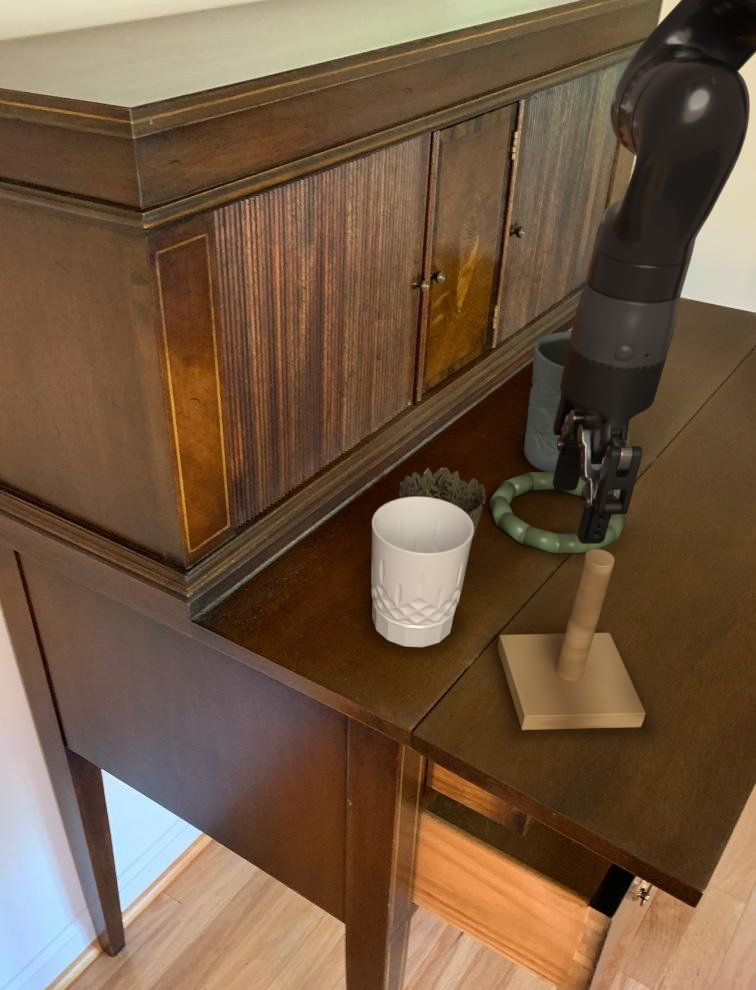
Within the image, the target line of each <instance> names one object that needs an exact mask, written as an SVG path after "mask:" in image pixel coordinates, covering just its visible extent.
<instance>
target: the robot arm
mask: <svg viewBox="0 0 756 990" xmlns="http://www.w3.org/2000/svg"><path fill="white" fill-rule="evenodd" d="M755 55H756V0H679V2H678V3H677V4H676V5H675V6H674V7H673V8H672V9H671V11H669V13H668V14H667V15H666V16H665V17H664V18H663V19H662V20H661V21H660V23H659V24H658V25H657V26H655V28H654V29H653V30H652V31H651V33H650V34H649V35H648V36H647V37H646V38H645V40H644V41H643V42H642V44H641V45H640V46H639V47H638V48H637V50H636V51H635V52H634V54H633V55H632V57H631V58H630V60H629V61H628V63H627V65H626V66H625V68H624V69H623V71H622V74H621V76H620V78H619V79H618V81H617V84H616V87H615V89H614V91H613V95H612V99H611V102H610V110H609V111H610V112H609V113H610V114H609V115H610V125H611V129H612V132H613V134H614V136H615V138H616V139H617V141H618V142H619V144H620V145H621V146H622V147H623V148H625V149H626V150H627V151H628V152H630V153H631V154H632V155H633V156H635V161H634V167H633V170H632V173H631V177H630V180H629V182H628V185H627V186H626V187H627V188H626V190H625V193H624V196H623V198H621V199H618V200H615V201H614V202H613V203H611V204H610V205H609V206H608V207H607V208H606V209H605V210H604V212H603V214H602V216H601V218H600V221H599V224H598V226H597V230H596V233H595V238H594V243H593V248H592V252H591V256H590V260H589V267H588V270H587V275H586V279H585V283H584V287H583V290H582V292H581V294H580V297H579V300H578V303H577V307H576V310H575V315H574V319H573V323H572V328H571V331H572V332H571V337H570V342H569V346H568V351H567V356H566V360H565V365H564V370H563V374H562V379H561V384H560V389H561V392H562V395H561V399H560V403H559V407H558V411H557V415H556V419H555V424H554V427H553V431H554V435H560V437H559V439H558V442H557V448H558V451H561V452H559V455H558V460H557V464H556V469H555V473H554V478H553V482H552V484H553V486H554V488H555V490H554V491H560V492H562V491H572V490H575V489H576V488H577V486H578V482H579V478H580V477H581V479H582V480H583V481H585V482H586V499H585V503H584V506H583V510H582V514H581V518H580V522H579V526H578V530H577V533H576V534H577V537H578V539H579V541H580V543H582V544H599V543H602V542H603V541H604V539H605V536H606V532H607V529H608V525H609V521H610V518H611V514H626V515H627V514H628V511H629V509H630V508H629V507H630V503H631V499H632V496H633V492H634V488H635V485H636V480H637V476H638V473H639V470H640V469H639V468H640V465H641V461H642V457H643V448H642V446H641V445H629V442H630V427H629V426H630V421H631V419H632V418H634V417H635V416H638V415H639V414H640V413H643V412H645V411H647V410H649V409H650V408H651V407H652V405H653V403H654V401H655V399H656V395H657V391H658V388H659V385H660V381H661V378H662V374H663V371H664V367H665V365H666V361H667V357H668V353H669V350H670V346H671V343H672V340H673V337H674V333H675V329H676V324H677V320H678V314H679V306H680V300H681V297H682V293H683V288H684V285H685V281H686V279H687V275H688V271H689V267H690V264H691V262H692V261H691V260H692V257H693V253H694V250H695V249H694V248H695V245H696V241H697V237H698V235H699V233H700V232H701V230H702V228H703V227H704V225H705V223H706V221H707V220H708V219H709V217H710V215H711V213H712V211H713V210H714V208H715V206H716V204H717V201H718V200H719V197H720V196H721V193H722V192H723V190H724V189H725V186H726V184H727V182H728V180H730V179H729V178H730V176H731V175H732V173H733V171H734V169H735V166H736V164H737V163H738V160H739V158H740V155H741V154H742V153H741V152H742V150H743V147H744V143H745V140H746V138H747V133H748V127H749V122H750V111H751V101H750V92H749V89H748V85H747V83H746V81H745V79H744V77H743V76H742V74H741V73H740V70H741V69H742V68H743V67H744V66H745V65H746V64H747V63H748V62H749V61H750V59H752V57H753V56H755ZM567 415H568V419H567V421H566V422H565V419H566V416H567ZM591 464H603V466H602V467H601V469H599V470H594V469H593V468H592V466H591ZM597 482H598V483H597ZM596 484H597V485H598V489H597V493H596ZM608 493H609V494H608Z"/></svg>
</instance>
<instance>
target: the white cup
mask: <svg viewBox="0 0 756 990" xmlns="http://www.w3.org/2000/svg"><path fill="white" fill-rule="evenodd" d="M473 534H474V525H473V522H472V520H471V518H470V517H469V515H468V514H467V513H466V512H465V511H463V510H462V509H461V508H459V507H458V506H456V505H454V504H452V503H449V502H447V501H444V500H440V499H436V498H431V497H405V498H400V499H399V498H396V499H393V500H390V501H387V502H386V503H384V504H382V505H381V506H380V507H378V509H376V510H375V512H374V513H373V516H372V518H371V550H370V551H371V552H370V553H371V555H370V556H371V557H370V559H371V560H370V561H371V562H370V575H371V582H370V583H371V585H370V586H371V587H370V590H371V599H372V600H371V601H372V604H371V619H372V622H373V625H374V628H375V631H376V632H377V633H379V635H380V636H382V637H383V638H384V639H386V640H387V641H388V642H391V643H394V644H396V645H399V646H402V647H405V648H406V647H407V648H426V647H430V646H433V645H436V644H439V643H441V642H442V641H443V640H444V639H445V638H446V637H448V636H449V635H450V634H451V630H452V627H453V623H454V620H455V614H456V613H455V612H456V609H457V607H458V605H459V603H460V597H461V594H462V591H463V586H464V580H465V577H466V571H467V567H468V562H469V557H470V552H471V547H472V543H473V540H472V538H473ZM473 539H474V538H473Z"/></svg>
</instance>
